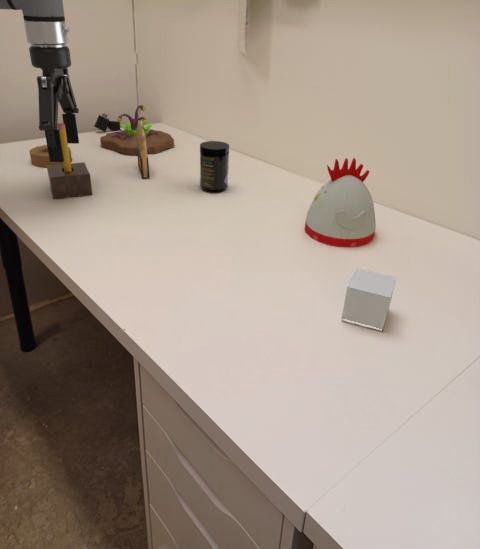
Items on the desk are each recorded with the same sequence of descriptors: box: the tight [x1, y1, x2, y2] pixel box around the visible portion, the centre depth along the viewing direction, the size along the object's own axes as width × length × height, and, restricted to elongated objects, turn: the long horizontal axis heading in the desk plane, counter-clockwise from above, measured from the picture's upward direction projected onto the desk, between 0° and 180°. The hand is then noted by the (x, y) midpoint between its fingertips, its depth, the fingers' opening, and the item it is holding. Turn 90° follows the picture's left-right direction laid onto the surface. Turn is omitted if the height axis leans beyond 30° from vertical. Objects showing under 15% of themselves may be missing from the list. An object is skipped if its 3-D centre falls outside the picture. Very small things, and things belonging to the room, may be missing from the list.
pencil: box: [57, 122, 72, 172], centre depth 105 cm, size 2×2×15 cm
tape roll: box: [29, 144, 73, 168], centre depth 126 cm, size 10×10×3 cm
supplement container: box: [199, 140, 230, 193], centre depth 111 cm, size 7×7×10 cm
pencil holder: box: [46, 162, 93, 200], centre depth 108 cm, size 8×8×5 cm
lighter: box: [93, 112, 121, 133], centre depth 153 cm, size 8×2×5 cm
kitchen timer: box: [304, 157, 377, 248], centre depth 92 cm, size 14×14×15 cm
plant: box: [99, 104, 175, 157], centre depth 139 cm, size 20×20×11 cm
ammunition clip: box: [137, 120, 150, 180], centre depth 119 cm, size 11×2×12 cm, turn 15°
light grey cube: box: [341, 267, 397, 330], centre depth 70 cm, size 6×6×6 cm
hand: (65, 151), depth 104 cm, fingers open, 13 cm apart
